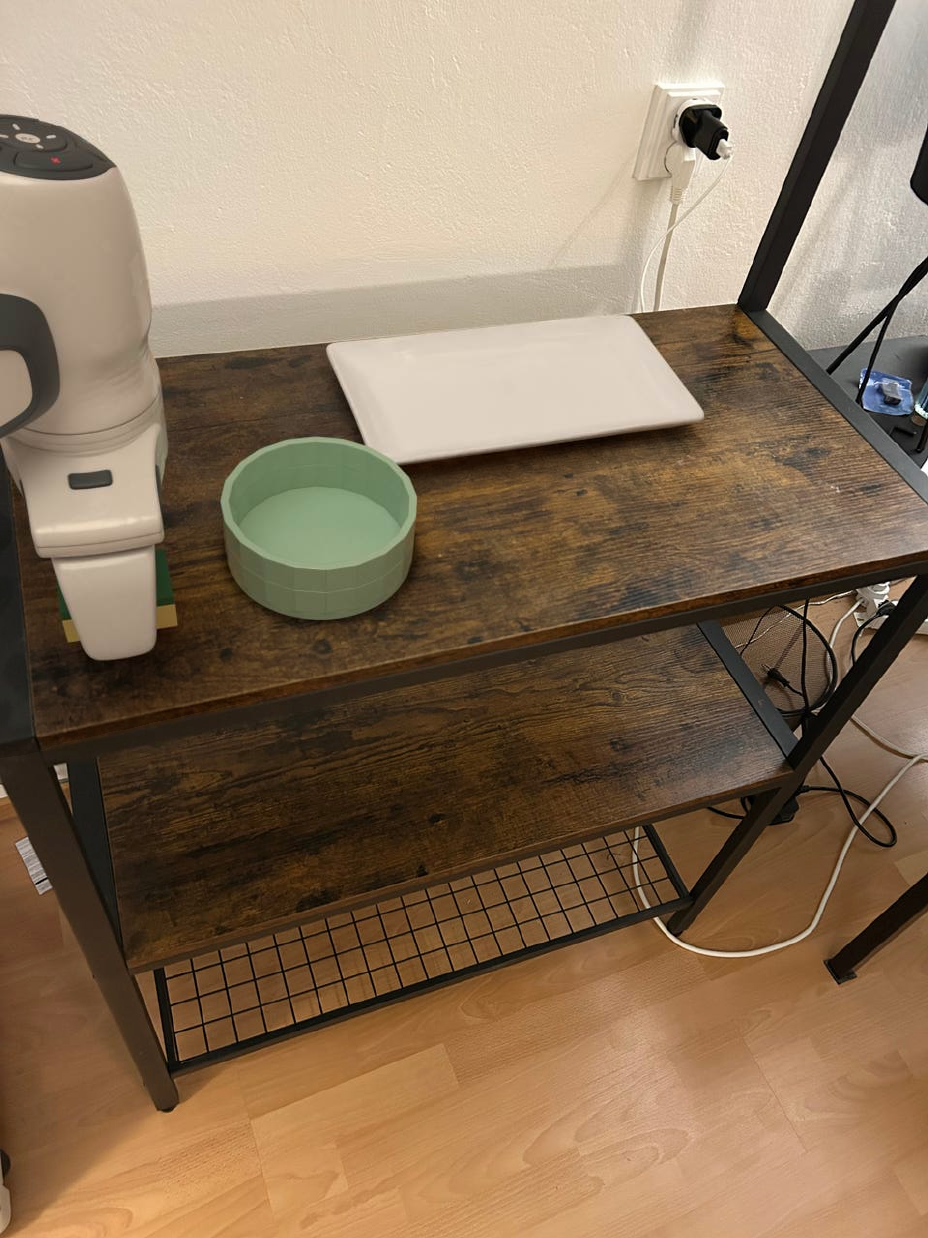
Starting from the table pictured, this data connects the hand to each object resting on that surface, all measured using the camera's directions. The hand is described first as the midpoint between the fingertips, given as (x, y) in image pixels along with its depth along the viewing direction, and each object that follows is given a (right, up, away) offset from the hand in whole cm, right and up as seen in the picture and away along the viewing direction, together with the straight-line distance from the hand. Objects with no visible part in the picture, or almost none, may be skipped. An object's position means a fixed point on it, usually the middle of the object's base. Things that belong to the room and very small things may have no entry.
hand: (116, 593), depth 65 cm
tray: (+28, +18, +26) cm, 41 cm away
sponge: (0, -1, +1) cm, 2 cm away
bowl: (+12, +4, +11) cm, 17 cm away
